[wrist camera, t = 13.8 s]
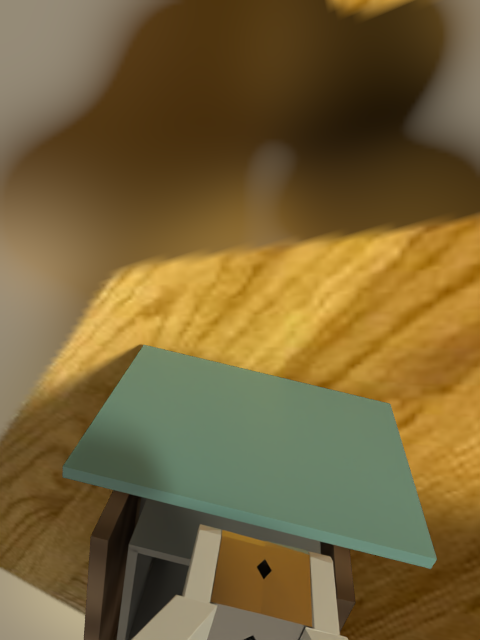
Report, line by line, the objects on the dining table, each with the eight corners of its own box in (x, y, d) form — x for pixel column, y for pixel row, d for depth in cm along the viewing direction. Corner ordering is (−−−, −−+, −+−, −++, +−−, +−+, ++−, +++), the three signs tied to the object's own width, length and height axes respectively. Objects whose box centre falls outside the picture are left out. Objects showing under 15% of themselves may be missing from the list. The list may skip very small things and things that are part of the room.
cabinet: (143, 344, 26) (62, 466, 17) (390, 403, 26) (437, 559, 17) (121, 535, 34) (57, 687, 25) (311, 583, 34) (314, 754, 25)
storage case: (133, 448, 31) (90, 536, 24) (344, 500, 30) (355, 602, 24) (115, 600, 39) (79, 695, 32) (282, 643, 38) (278, 747, 32)
